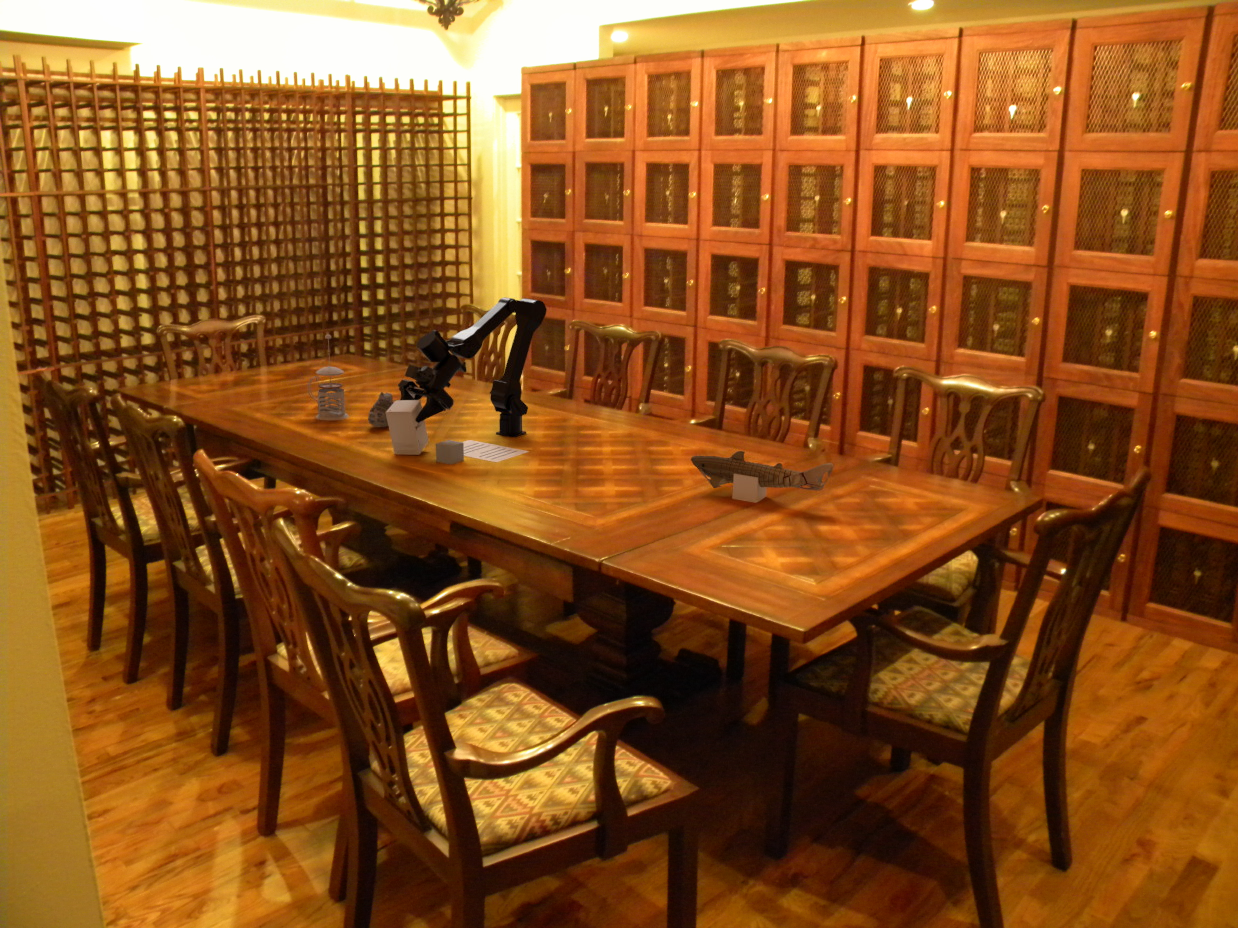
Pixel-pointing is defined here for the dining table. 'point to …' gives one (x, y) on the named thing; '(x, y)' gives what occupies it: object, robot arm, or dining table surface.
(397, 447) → the supplement box
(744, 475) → the wood carving
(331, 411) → the french press
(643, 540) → the dining table surface
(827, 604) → the dining table surface
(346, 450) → the dining table surface
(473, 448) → the letter
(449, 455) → the cube
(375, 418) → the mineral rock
